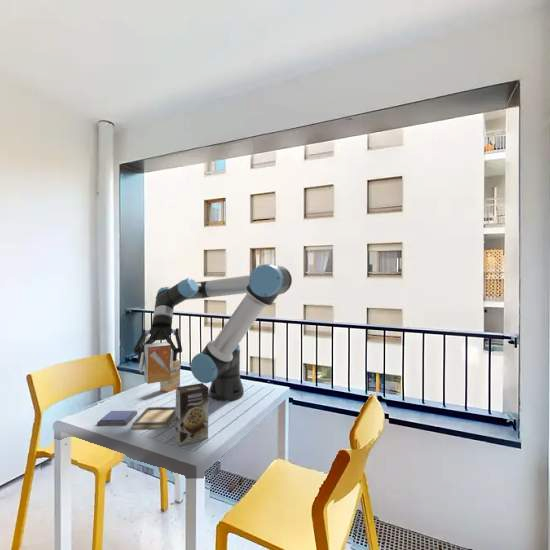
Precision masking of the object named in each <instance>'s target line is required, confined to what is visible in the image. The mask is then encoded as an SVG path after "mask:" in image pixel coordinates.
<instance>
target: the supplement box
mask: <svg viewBox="0 0 550 550" xmlns="http://www.w3.org/2000/svg"><path fill="white" fill-rule="evenodd" d="M159 383H160V384H159V385H160V386H159V390H160V392H164V393H168V392H171V391H173V390H176V387H181V359H179V358H177V360H176V361H173V370H172V371H171V380H169V381H162V382H159Z"/></svg>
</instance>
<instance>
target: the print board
mask: <svg viewBox="0 0 550 550" xmlns="http://www.w3.org/2000/svg"><path fill="white" fill-rule="evenodd" d="M175 418H176V406H148V407H146V409H145V410H144V411H143V412H141V414H140V415H139V416H138V417H137V418H136V419H135V420H134V422H132V425H131V429H168V427H169V426H170V425H171V423H172V422H173V420H174V419H175Z"/></svg>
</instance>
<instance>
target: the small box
mask: <svg viewBox="0 0 550 550" xmlns="http://www.w3.org/2000/svg"><path fill="white" fill-rule="evenodd" d="M144 344H145V343H144ZM144 344H143V345H144ZM171 351H172V349H171V345H170V344H169V343H168V342H167V341H165V342H156V343H155V342H154V343H152V344H145V345H144V365H143V371H144V372H143V380H144V382H146V383H147V385H149V384H155V383H160V382H162V381H169V380H171V371H170V358H171Z"/></svg>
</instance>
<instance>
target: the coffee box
mask: <svg viewBox="0 0 550 550" xmlns="http://www.w3.org/2000/svg"><path fill="white" fill-rule="evenodd" d="M209 389H210V387H208V386H207V385H205V383H202V382H200V383H193V384H189V385H183V386H180V387H176V389H175V407H176V416H175V417H174V419H175V425H174V426H175V427H174V428H175V429H174V437H175V439H176V442H178V444H179V446H184V445H187V444H191V443H196V442H198V441H202V440H206V439H208V438H209V400H210V397H209Z"/></svg>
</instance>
